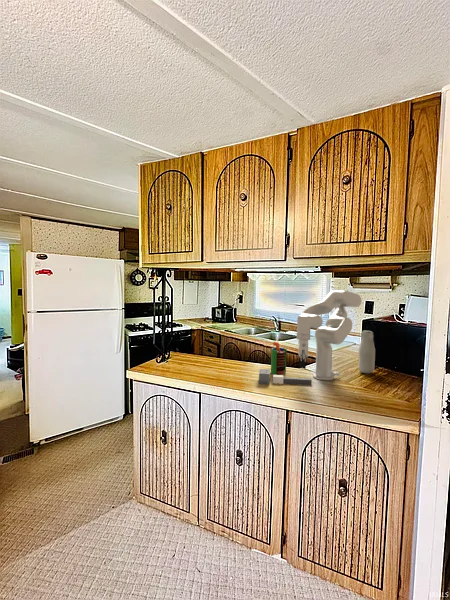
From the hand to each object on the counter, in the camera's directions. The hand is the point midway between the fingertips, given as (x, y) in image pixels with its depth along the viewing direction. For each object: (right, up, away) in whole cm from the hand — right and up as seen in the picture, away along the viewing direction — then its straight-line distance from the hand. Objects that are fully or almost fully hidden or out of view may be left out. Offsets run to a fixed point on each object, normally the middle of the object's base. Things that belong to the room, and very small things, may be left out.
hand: (302, 366), depth 192 cm
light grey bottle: (+47, -10, +25) cm, 54 cm away
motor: (-10, -9, +23) cm, 27 cm away
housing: (-21, -10, +4) cm, 24 cm away
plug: (-5, -11, +2) cm, 12 cm away
